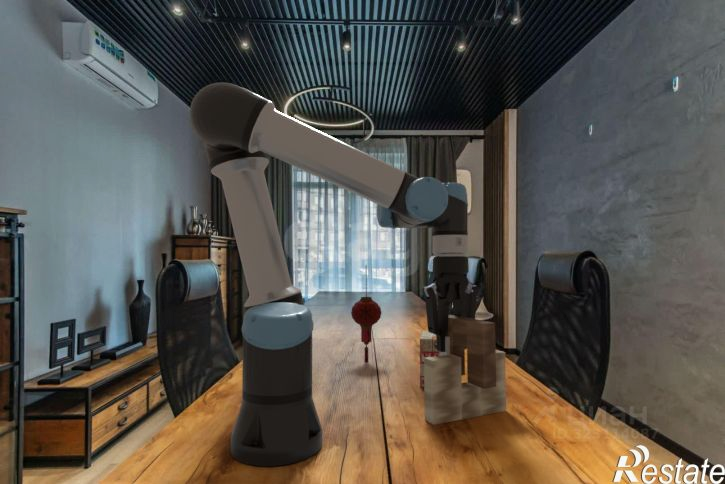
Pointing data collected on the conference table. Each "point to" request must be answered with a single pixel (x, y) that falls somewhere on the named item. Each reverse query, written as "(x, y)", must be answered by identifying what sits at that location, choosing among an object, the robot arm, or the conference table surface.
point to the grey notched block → (460, 391)
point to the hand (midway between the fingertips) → (452, 365)
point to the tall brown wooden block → (474, 349)
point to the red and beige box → (427, 351)
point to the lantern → (366, 317)
